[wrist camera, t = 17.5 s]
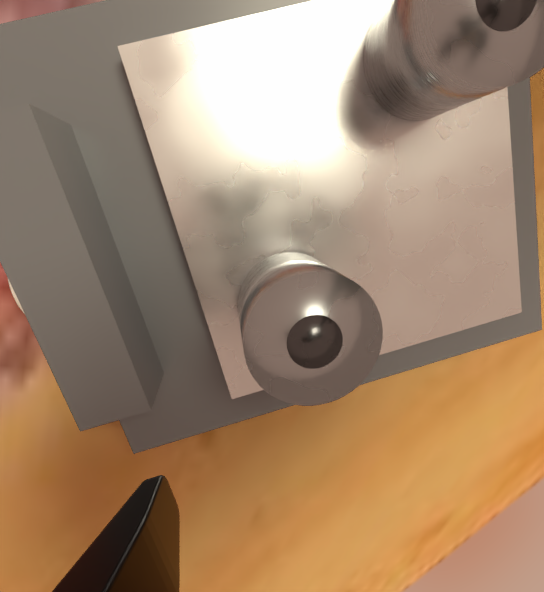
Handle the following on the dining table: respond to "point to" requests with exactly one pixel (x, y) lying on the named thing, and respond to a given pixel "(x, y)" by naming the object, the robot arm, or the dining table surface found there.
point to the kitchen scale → (242, 200)
